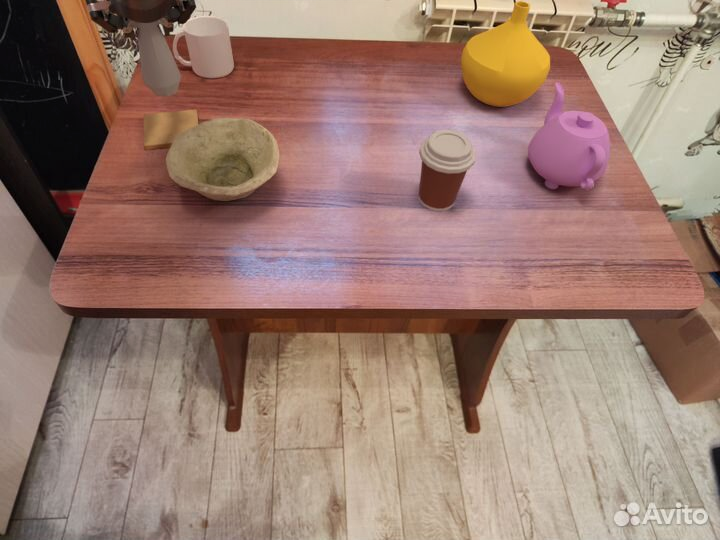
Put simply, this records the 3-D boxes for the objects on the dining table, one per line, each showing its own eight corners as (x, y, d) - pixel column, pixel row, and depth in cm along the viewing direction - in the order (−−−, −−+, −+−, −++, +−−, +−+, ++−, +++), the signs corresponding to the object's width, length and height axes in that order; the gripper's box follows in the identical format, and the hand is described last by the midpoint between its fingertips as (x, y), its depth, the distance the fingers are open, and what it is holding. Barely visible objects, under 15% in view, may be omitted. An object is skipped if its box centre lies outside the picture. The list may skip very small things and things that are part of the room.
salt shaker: (178, 101, 77) (156, 17, 67) (142, 98, 77) (114, 14, 67) (187, 81, 81) (168, -2, 71) (153, 79, 81) (128, -5, 70)
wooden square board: (145, 150, 90) (143, 145, 89) (145, 118, 95) (143, 114, 95) (201, 144, 92) (200, 139, 91) (197, 113, 97) (196, 109, 97)
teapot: (503, 139, 98) (523, 82, 88) (567, 134, 100) (593, 78, 91) (545, 209, 86) (574, 152, 76) (616, 201, 88) (653, 145, 79)
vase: (443, 74, 112) (462, -15, 97) (517, 70, 115) (546, -17, 100) (469, 121, 101) (495, 29, 86) (550, 115, 104) (588, 25, 89)
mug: (236, 58, 111) (230, 16, 104) (231, 79, 106) (224, 37, 98) (183, 56, 110) (173, 14, 103) (175, 77, 105) (163, 34, 98)
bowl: (277, 198, 90) (282, 204, 76) (175, 198, 86) (160, 205, 72) (275, 120, 87) (280, 111, 73) (169, 117, 83) (152, 107, 69)
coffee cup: (468, 191, 88) (486, 136, 78) (452, 223, 82) (468, 168, 73) (422, 175, 90) (433, 119, 80) (402, 205, 85) (412, 149, 75)
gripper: (188, -64, 59) (189, 0, 75) (59, -54, 55) (89, 11, 71) (206, 1, 60) (203, 50, 76) (81, 16, 56) (106, 64, 72)
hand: (148, 31), depth 73 cm, fingers closed on salt shaker, 4 cm apart
